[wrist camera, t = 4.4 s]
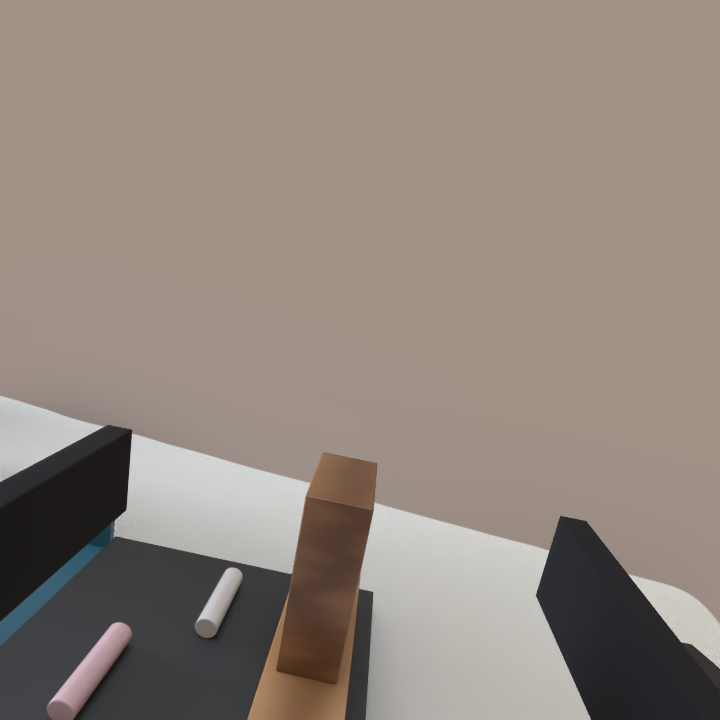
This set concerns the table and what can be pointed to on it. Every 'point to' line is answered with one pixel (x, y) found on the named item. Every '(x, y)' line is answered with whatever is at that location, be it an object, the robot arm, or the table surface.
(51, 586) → the dustpan
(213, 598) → the chalk
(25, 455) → the table surface
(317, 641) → the wooden block on base
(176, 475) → the table surface
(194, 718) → the chalkboard
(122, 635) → the chalk
